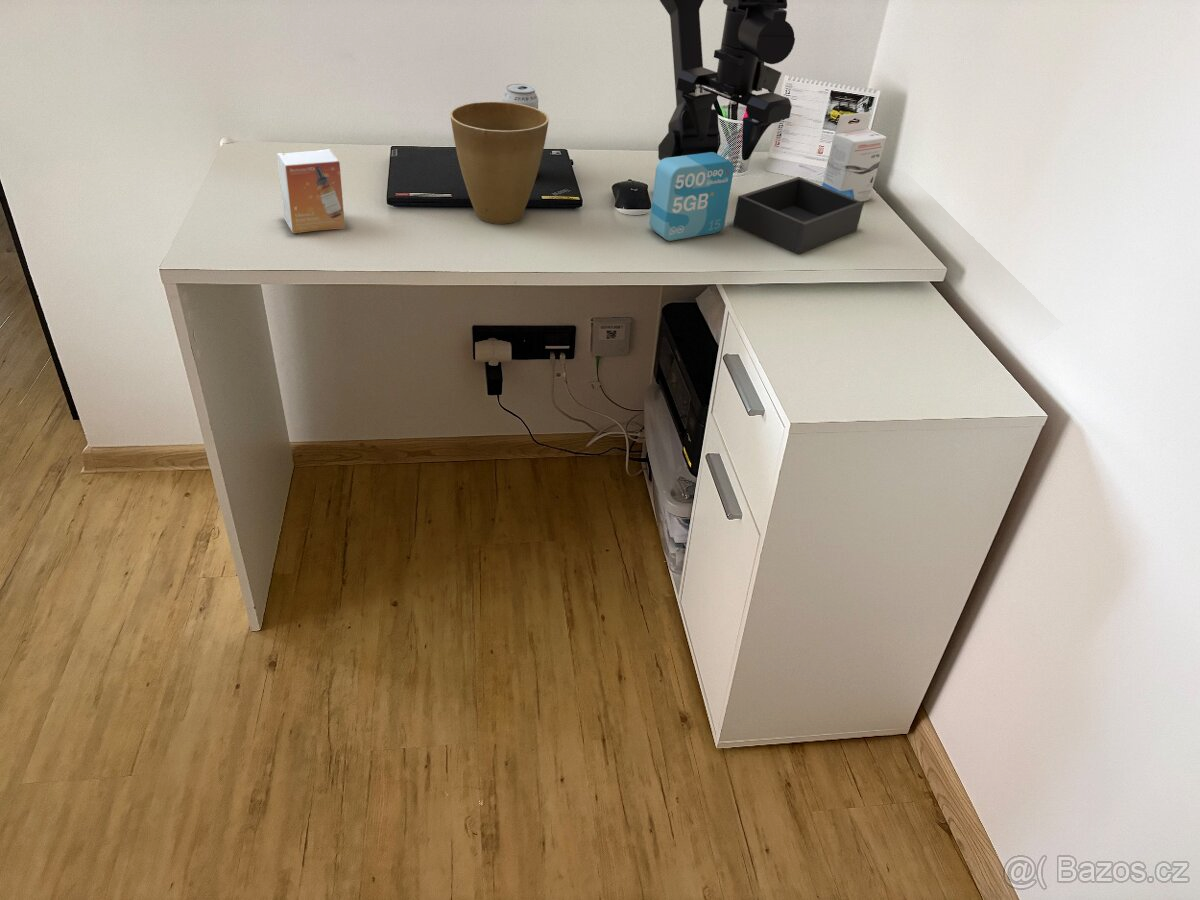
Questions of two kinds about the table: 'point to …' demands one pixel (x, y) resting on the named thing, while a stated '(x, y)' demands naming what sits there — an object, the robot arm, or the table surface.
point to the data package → (690, 195)
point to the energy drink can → (521, 95)
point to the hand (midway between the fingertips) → (723, 150)
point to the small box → (311, 190)
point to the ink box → (854, 157)
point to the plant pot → (499, 156)
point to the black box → (797, 214)
